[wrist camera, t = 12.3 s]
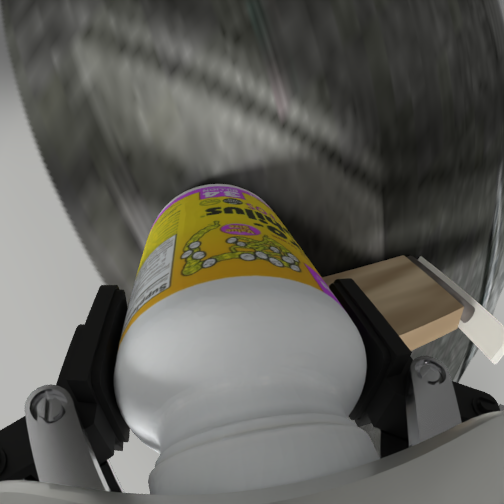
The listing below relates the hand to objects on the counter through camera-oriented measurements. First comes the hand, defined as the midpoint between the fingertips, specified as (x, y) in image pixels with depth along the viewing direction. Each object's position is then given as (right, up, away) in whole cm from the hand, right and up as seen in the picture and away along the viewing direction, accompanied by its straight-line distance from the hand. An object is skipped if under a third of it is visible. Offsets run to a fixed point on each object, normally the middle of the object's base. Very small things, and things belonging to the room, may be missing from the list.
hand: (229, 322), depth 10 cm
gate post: (+12, +1, +9) cm, 15 cm away
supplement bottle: (-1, +3, +6) cm, 6 cm away
